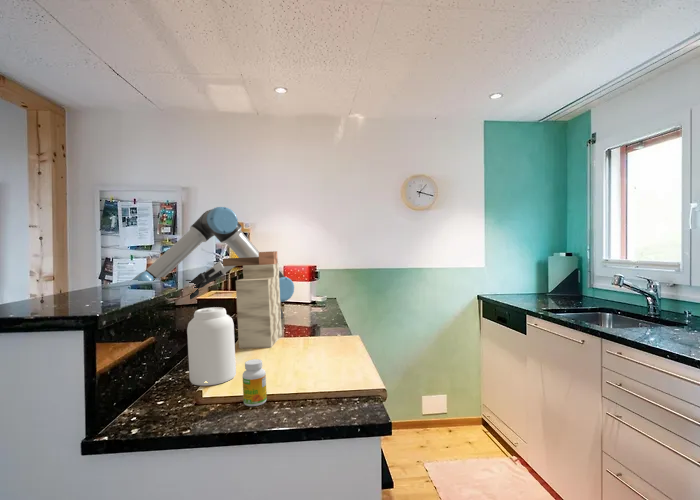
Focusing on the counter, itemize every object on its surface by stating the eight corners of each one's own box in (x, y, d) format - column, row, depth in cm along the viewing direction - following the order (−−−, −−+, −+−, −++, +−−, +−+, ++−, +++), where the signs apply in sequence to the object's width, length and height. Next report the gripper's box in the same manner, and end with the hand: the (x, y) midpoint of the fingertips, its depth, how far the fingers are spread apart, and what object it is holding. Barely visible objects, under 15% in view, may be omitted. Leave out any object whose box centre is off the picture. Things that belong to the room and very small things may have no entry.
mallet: (227, 265, 155) (226, 253, 155) (277, 263, 154) (277, 251, 154) (221, 266, 149) (221, 253, 149) (274, 264, 148) (273, 251, 148)
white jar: (179, 383, 105) (176, 311, 105) (214, 369, 116) (211, 304, 116) (211, 389, 99) (208, 314, 99) (245, 374, 110) (242, 306, 110)
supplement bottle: (239, 406, 88) (237, 365, 88) (249, 397, 93) (247, 358, 93) (262, 407, 87) (260, 365, 87) (270, 397, 92) (268, 358, 92)
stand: (253, 336, 157) (249, 264, 156) (281, 335, 156) (278, 263, 156) (238, 348, 139) (235, 267, 138) (271, 347, 138) (267, 265, 138)
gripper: (203, 295, 165) (243, 269, 164) (174, 305, 140) (221, 274, 139) (194, 281, 165) (234, 254, 164) (163, 288, 140) (210, 257, 139)
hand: (228, 263), depth 151 cm, fingers open, 13 cm apart
